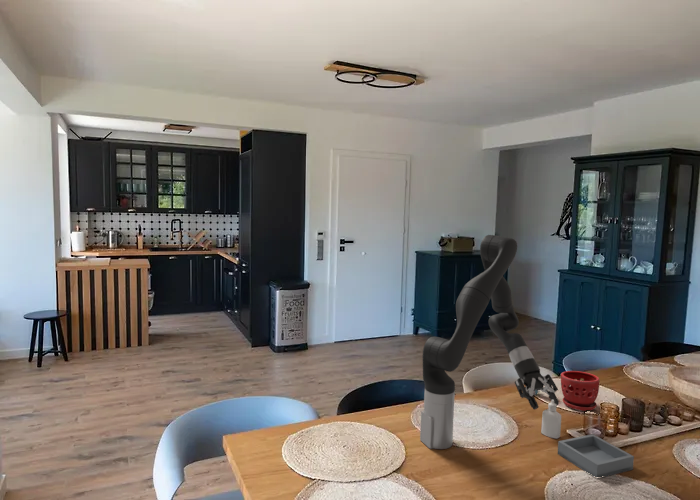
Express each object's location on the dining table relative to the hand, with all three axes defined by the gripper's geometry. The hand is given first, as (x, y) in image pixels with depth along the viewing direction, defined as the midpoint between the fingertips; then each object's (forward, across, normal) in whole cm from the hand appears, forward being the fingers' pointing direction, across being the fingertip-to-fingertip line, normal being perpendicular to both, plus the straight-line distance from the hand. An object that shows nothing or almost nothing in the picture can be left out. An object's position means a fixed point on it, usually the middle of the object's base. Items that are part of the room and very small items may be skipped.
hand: (546, 406), depth 157 cm
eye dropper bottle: (+8, 0, +4) cm, 9 cm away
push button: (-13, +20, +26) cm, 35 cm away
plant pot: (-2, +28, +15) cm, 32 cm away
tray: (+20, 0, -8) cm, 21 cm away
